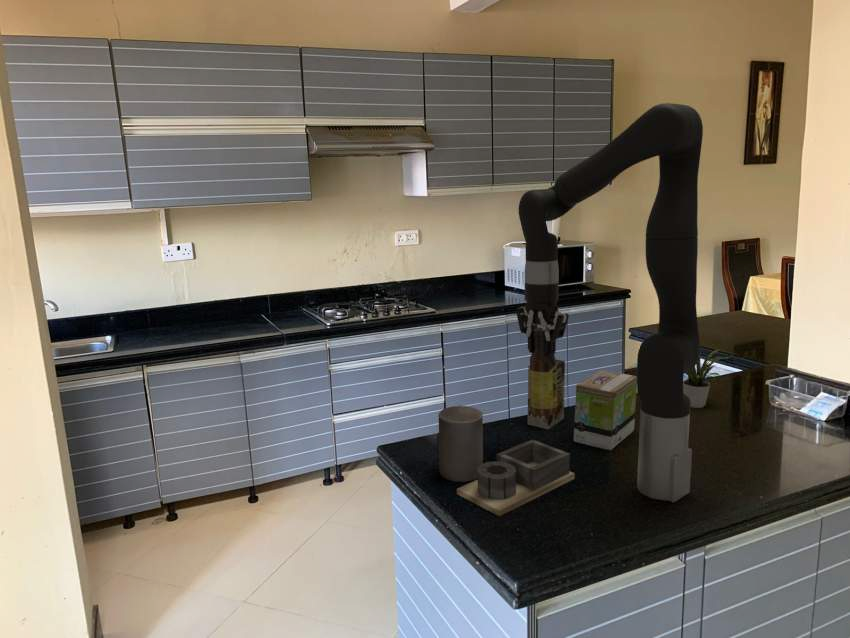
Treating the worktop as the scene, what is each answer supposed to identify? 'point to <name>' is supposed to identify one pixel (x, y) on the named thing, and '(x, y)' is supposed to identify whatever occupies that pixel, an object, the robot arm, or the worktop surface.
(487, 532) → the worktop surface
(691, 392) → the house plant
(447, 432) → the pillar candle
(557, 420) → the coffee box
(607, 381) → the tea box
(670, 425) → the robot arm
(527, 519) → the worktop surface
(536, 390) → the sauce bottle
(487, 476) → the socket board
